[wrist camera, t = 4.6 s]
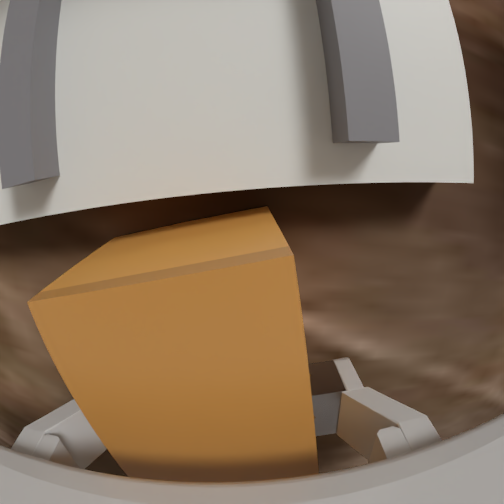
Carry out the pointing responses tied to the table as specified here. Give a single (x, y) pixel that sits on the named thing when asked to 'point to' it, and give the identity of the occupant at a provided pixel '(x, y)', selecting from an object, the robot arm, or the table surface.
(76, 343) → the cardboard box
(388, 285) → the table surface
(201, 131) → the white l-shaped stand
